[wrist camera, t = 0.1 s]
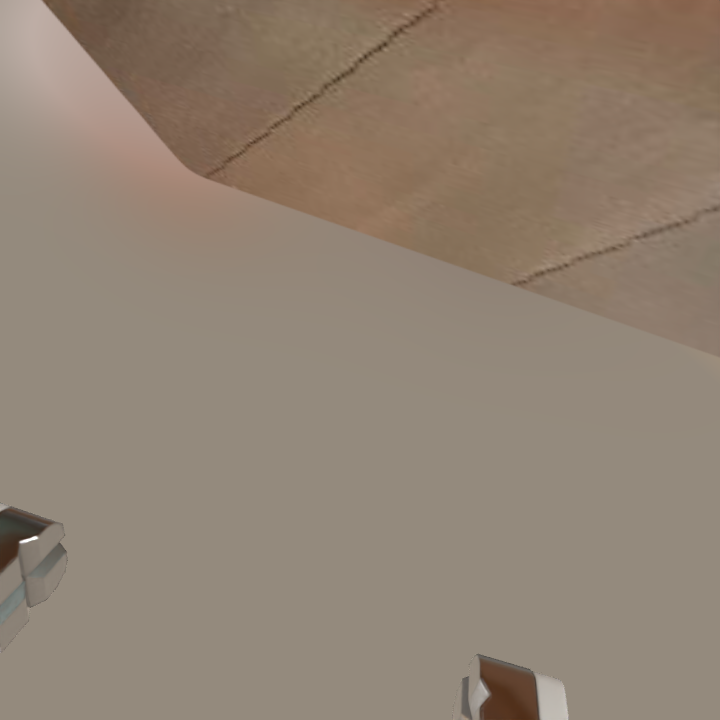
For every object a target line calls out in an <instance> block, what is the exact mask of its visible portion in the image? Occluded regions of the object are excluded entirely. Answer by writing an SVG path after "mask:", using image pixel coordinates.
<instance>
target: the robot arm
mask: <svg viewBox="0 0 720 720" xmlns="http://www.w3.org/2000/svg"><path fill="white" fill-rule="evenodd" d="M64 536H65V533H64V527H63V524H62V523H59V522H56V521H53V520H50V519H47V518H44V517H41V516H38V515H35V514H32V513H29V512H26V511H23V510H20V509H17V508H15V507H12V506H9V505H6V504H3V503H0V653H1V652H3V650H4V649H5V648H6V647H7V646H8V645H9V643H10V642H11V641H12V640H13V639H14V638H15V636H16V635H17V634H18V633H19V632H20V631H21V629H22V628H23V627H24V626H25V625H26V624H27V622H28V621H29V616H30V608H31V607H33V606H35V605H37V604H39V603H41V602H43V601H46V600H47V599H48V598H49V596H50V595H51V594H52V593H53V592H54V590H55V589H56V588H57V586H58V584H59V582H60V581H61V579H62V577H63V575H64V573H65V570H66V565H67V561H68V560H67V552H66V550H65V549H64V548H63V546H62V545H61V544H60V543H59V542H60V540H61V539H62V538H63V537H64ZM452 720H569V717H568V710H567V702H566V695H565V688H564V686H563V684H562V682H561V680H559V679H557V678H554V677H550V676H547V675H543V674H540V673H537V672H533V671H531V670H530V669H527V668H523V667H520V666H517V665H514V664H510V663H507V662H503V661H500V660H496V659H493V658H490V657H486V656H483V655H480V654H476V655H475V656H474V657H473V659H472V660H471V662H470V664H469V676H468V677H465V678H463V679H462V681H461V683H460V685H459V688H458V690H457V694H456V698H455V702H454V706H453V714H452Z"/></svg>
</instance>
